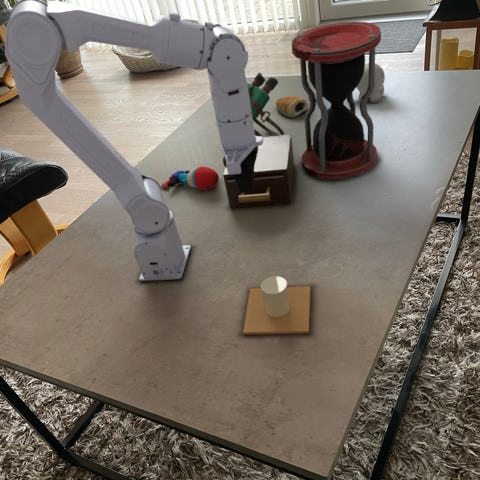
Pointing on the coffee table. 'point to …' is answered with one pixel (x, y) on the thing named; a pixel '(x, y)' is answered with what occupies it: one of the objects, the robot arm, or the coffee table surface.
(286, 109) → the pastry
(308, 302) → the cork mat
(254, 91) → the binoculars
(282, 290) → the cream cylinder
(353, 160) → the hourglass
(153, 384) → the coffee table surface
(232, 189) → the drawer
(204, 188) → the toy figure
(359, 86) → the round bodied animal figurine
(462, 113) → the coffee table surface
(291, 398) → the coffee table surface
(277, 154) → the cabinet
